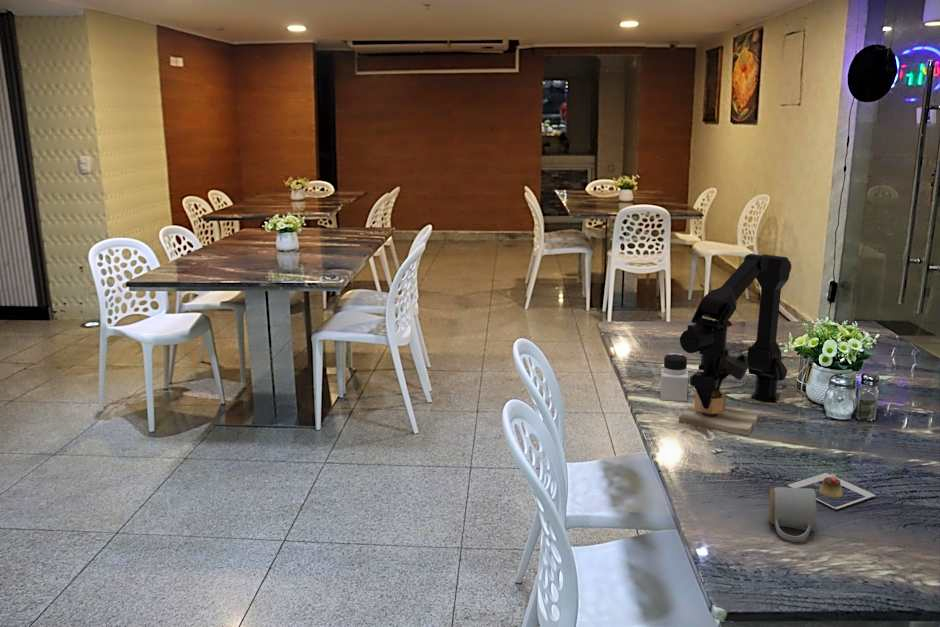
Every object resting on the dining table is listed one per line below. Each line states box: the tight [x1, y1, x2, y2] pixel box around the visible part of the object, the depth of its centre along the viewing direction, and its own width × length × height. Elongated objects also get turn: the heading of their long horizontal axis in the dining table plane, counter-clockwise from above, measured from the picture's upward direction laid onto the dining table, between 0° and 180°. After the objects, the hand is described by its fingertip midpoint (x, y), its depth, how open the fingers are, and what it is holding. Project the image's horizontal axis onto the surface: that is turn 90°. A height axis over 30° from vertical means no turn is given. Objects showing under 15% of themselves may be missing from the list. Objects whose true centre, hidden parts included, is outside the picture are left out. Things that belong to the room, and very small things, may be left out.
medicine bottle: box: [659, 353, 690, 402], centre depth 218 cm, size 7×7×12 cm
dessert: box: [787, 472, 877, 510], centre depth 163 cm, size 12×12×5 cm
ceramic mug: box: [768, 486, 817, 543], centre depth 149 cm, size 11×8×8 cm
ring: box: [694, 389, 727, 414], centre depth 202 cm, size 7×7×4 cm
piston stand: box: [678, 402, 760, 436], centre depth 202 cm, size 12×17×2 cm
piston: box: [701, 397, 718, 417], centre depth 202 cm, size 4×4×4 cm
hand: (710, 404), depth 202 cm, fingers closed on ring, 7 cm apart
